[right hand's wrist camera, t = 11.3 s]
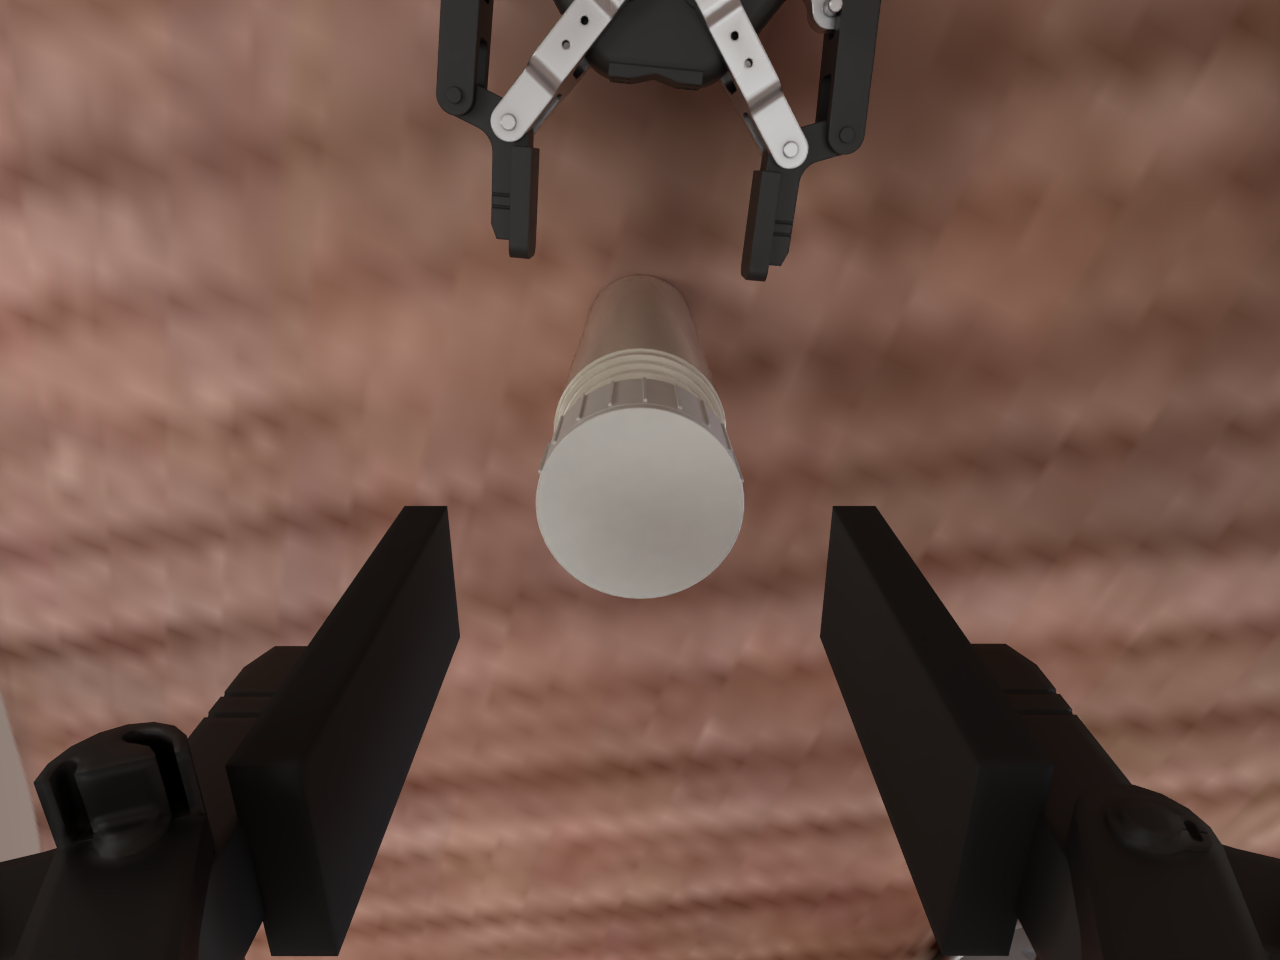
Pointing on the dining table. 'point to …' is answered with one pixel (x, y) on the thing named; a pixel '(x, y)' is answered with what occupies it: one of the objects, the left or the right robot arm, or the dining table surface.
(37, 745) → the dining table surface
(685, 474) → the cap
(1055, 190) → the dining table surface
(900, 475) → the dining table surface
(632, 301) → the bottle
